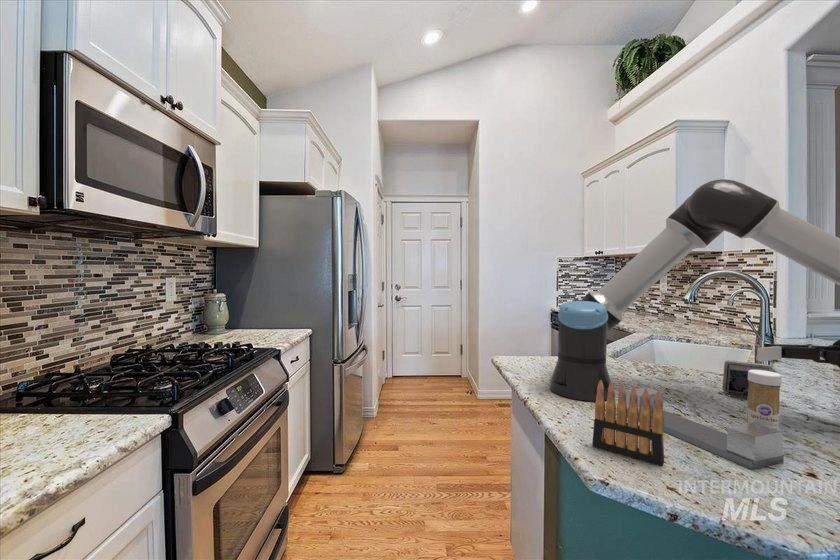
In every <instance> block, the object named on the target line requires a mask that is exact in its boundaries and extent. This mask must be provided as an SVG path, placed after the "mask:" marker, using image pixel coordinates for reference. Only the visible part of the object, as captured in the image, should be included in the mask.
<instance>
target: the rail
mask: <svg viewBox="0 0 840 560" xmlns="http://www.w3.org/2000/svg"><path fill="white" fill-rule="evenodd" d="M645 388H647V390H648V392H649V397H650V412H651V427H652V414H653V410H654V400H655V395H656V393H657V391H658V389H653V388H650V387H640V388H639V387H638V388H636V391H637V398H638V411H639V422H640V410H641V404H642V395H643V392H644V389H645ZM631 389H632V388H631ZM631 389H625V391H626V406H627V417H628V408H629V402H630V393H631ZM660 393H661V396H662V403H663V404H664V402H665V401H664V397H665V393H664V392H662V391H660ZM663 416H664V431H663V433H666V434H668V435H670V436H672V437H674V438H677V439H680V440H682V441H684V442H686V443H689V444H691V445H694V446H696V447H698V448H701V449H703V450H705V451H707V452H710V453H711V454H714V455H717V456H719V457H722V458H723V459H726V460H728V461H730V462H733V463H735V464H738V465H740V466H742V467H745V468H747V469H749V470H757V469H760V468H765V467H770V466H774V465H777V464H781V463H784V459H785V458H784V456H785V454H783V435H784V434H783V433H784V432H783V431H781V430H780V429H779V430H776V429H773V428H770V427H767V426H764V425H761V424H758V423H749V424H747V423H744V424H738V425H732V426H727V432H722V431H720V430H717V429H714V428H713V427H710V426H707V425H705V424H702V423H699V422H696V421H693V420H691V419H687V418H685V417H682V416H680V415H678V414H674V413H672V412H669V411H666V410H664V409H663Z"/></svg>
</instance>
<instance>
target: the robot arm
mask: <svg viewBox="0 0 840 560" xmlns="http://www.w3.org/2000/svg"><path fill="white" fill-rule="evenodd" d="M723 232H728V233H729V234H732V235H735V236H736V237H738V238H739V239H747V238H748V239H753V240H754V241H756V242H757V243H760V244H762V245H763V246H765V247H768V248H769V249H771V250H772V251H774V252H777V253H778V254H780V255H782V256H783V257H786V258H788V259H790V260H792V261H793V262H795V263H797V264H798V265H801V266H803V267H804V268H806V269H808V270H810V271H812V272H814V273H816V275H819V276H821V277H823V278H825V279H827V280H828V281H830V282H832V283H834V284H836V285H837V286H840V237H838V236H836V235H834V234H831V232H828V231H826V230H824V229H822V228H820V227H818V226H816V225H814V224H812V223H810V222H808V221H806V220H804V219H802V218H800V217H799V216H797V215H794V214H792V213H790V212H788V211H786V210H784V209H782V208H781V207H780V202H779V201H778V200H777V199H775V198H773V197H771V196H769V195H767V194H764V193H763V192H762V191H759V190H757V189H755V188H753V187H751V186H748V185H746V184H744V183H743V182H739V181H737V180H733V179H721V178H720V179H715V180H714V179H713V180H711V181H708V182H706V183H704V184H701V186H698V187H697V188H696V189H695V190H694V191H693V192H692V193H691V195H690V196H688V197H687V198H686V199H685V200H684V202H683V203H682V204H680V205H679V206H678V207H677V208H676V209H675V210H674V211H673V212H672V213H671V214H670V215H669V216H668V217H667V218H666V219H665V228H663V229H662V231H660V233H659V234H658V235H656V236H655V237H654V238H653V239H652V240H651V241H650V242H649V243H647V245H646V246H644V248H642V249H641V251H639V252H638V253H637V254H636V255H635V256H634V257H633V258H632V259H631V260H630V261H629V262H627V264H625V265H624V266H623V267H622V268H621V269H620V270H619V271H618V272H617V273H616V274H615V275H614V276H613V277H611V278H610V279H609V281H607V283H604V285H602V287H601V288H600V289H599V290H596V291H594V290H593V291H589V292H588V293H586V295H584V296H583V297H582V298H581V299H580V300H573V301H567V302H564V303H561V305H559V308H558V310H559V311H558V314H557V319H558V334H557V336H558V337H557V339H558V340H557V361H556V364H555V366H554V370H553V372H552V375H551V377H550V382H549V385H550V387H549V388H550V391H551V392H553V393H555V394H556V395H559V396H561V397H565V398H567V399H573V400H580V401H587V402H596V396H597V387H598V383H599V381H600V380H602V383H603V387H604V401H607V394H608V388H609V384H610V382H612V381H611V377H610V374H609V371H608V368H607V345H608V344H607V342H608V341H607V339H608V334H609V333H610V332H611V331H612V330H614V329H615V327H616V326H618V325H619V324H620V323H621V322H622V321H623V313H624V311H626V310H627V309H629V307H630V306H632V304H634V302H636V301H637V300H639V298H641V297H642V296H643V295H644V294H645V293H646V292H647V291H648V290H650V289H651V288H652V287H653V286H654V285H655V284H656V283H657V282H658V281H659V280H661V279H662V278H663V277H664V276H665V275H666V274H667V273H668V272H670V271H671V270H672V269H673V268H674V267H675V266H676V265H677V264H678V263H680V262H681V261H682V260H683V259H684V258H685V257H687V255H688V254H690V253H691V252H692V251H693V250H694V249H705V248H706V247H707V246H709V245H710V244H712V242H713V241H714V240H715V239H716V238H718V237H720V235H721V234H723ZM756 352H757V354H756V356H757V357H756V359H757V361H758V362H771V361H774V362H778V360H779V361H780V360H782V359H791V360H792V359H793V360H804V361H805V360H808V361H813V362H815V363H818V364H830V365H832V366H837V367H838V368H839V369H840V339H838V340H835V342H834V343H832V344H830V345H814V344H811V343H807V344H788V343H787V344H786V343H784V344H783V343H782V344H779V343H764V346H763V347H762V346H761V347H757V351H756Z"/></svg>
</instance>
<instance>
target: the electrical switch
mask: <svg viewBox="0 0 840 560" xmlns="http://www.w3.org/2000/svg"><path fill="white" fill-rule="evenodd" d="M749 370H764V371H770V372H773V366H771V365H770V364H765V363H756V362H750V361H749V362H747V361H738V360H730V359H729V360H728V359H726V360H725V361H724V365H723V376H722V391H723V393H725V392H727V396H728V395H730V396H729V397H734V396H735V398H741V399H748V390H749V382H748V381H749V380H748V371H749Z"/></svg>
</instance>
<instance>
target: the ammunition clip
mask: <svg viewBox="0 0 840 560" xmlns="http://www.w3.org/2000/svg"><path fill="white" fill-rule="evenodd" d="M644 388H645V389H644V392H643V395H642V404H641V410H640V421H639V411H638V398H637V391H636V389H637V388H636V386H635V385H633V386H632V387H631V393H630V402H629V408H628V416H627V406H626V391H625V390H626V387H625V385H624V383H622V384H621V385H620V386H619V390H618V397H617V398H618V399H617V405H616V393H615V391H616V390H615V386H614V383H613V381H611V382H610V384H609V388H608V394H607V400H604V387H603V383H602V380H600V381H599V383H598V387H597V396H596V401H595V404H594V420H593V429H592V430H593V434H592V444H591V445H592V447H593V448H596V449H599V450H602V451H606V452H609V453H613V454H616V455H620V456H623V457H624V456H625V457H628V458H630V459H631V458H632V459H635V460H638V461H642V462H646V463H649V464H653V465H656V466H659V467H663V466H664V462H665V457H664V456H665V452H664V451H665V450H664V446H665V445H664V432H663V431H664V416H663V410H664V403H662V396H661V393H660V392H661V391H660V389H657V393H656V395H655V400H654V410H653V414H652V426H651V412H650V397H649V392H648V390H647V388H648V387H644ZM605 401H606V403H605Z"/></svg>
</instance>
